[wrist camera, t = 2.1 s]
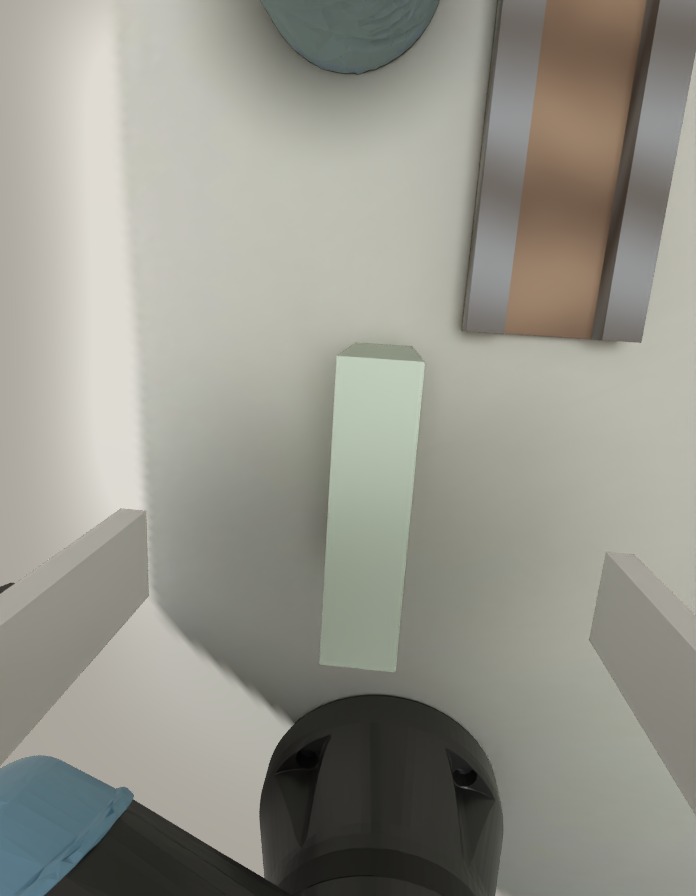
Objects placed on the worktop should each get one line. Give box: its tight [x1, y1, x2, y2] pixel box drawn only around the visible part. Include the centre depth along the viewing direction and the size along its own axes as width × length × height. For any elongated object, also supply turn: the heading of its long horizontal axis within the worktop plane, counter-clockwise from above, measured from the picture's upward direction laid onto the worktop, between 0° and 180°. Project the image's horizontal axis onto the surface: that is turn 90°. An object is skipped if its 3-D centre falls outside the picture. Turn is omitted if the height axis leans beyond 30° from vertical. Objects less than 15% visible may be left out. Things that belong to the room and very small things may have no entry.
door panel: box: [319, 343, 425, 672], centre depth 25 cm, size 12×3×11 cm, turn 177°
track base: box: [462, 0, 696, 343], centre depth 24 cm, size 24×8×2 cm, turn 176°
